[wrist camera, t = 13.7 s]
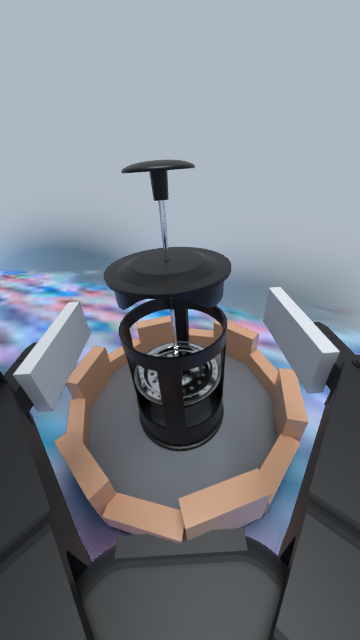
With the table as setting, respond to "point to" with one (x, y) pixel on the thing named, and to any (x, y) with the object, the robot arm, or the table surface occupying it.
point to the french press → (173, 326)
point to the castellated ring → (182, 466)
